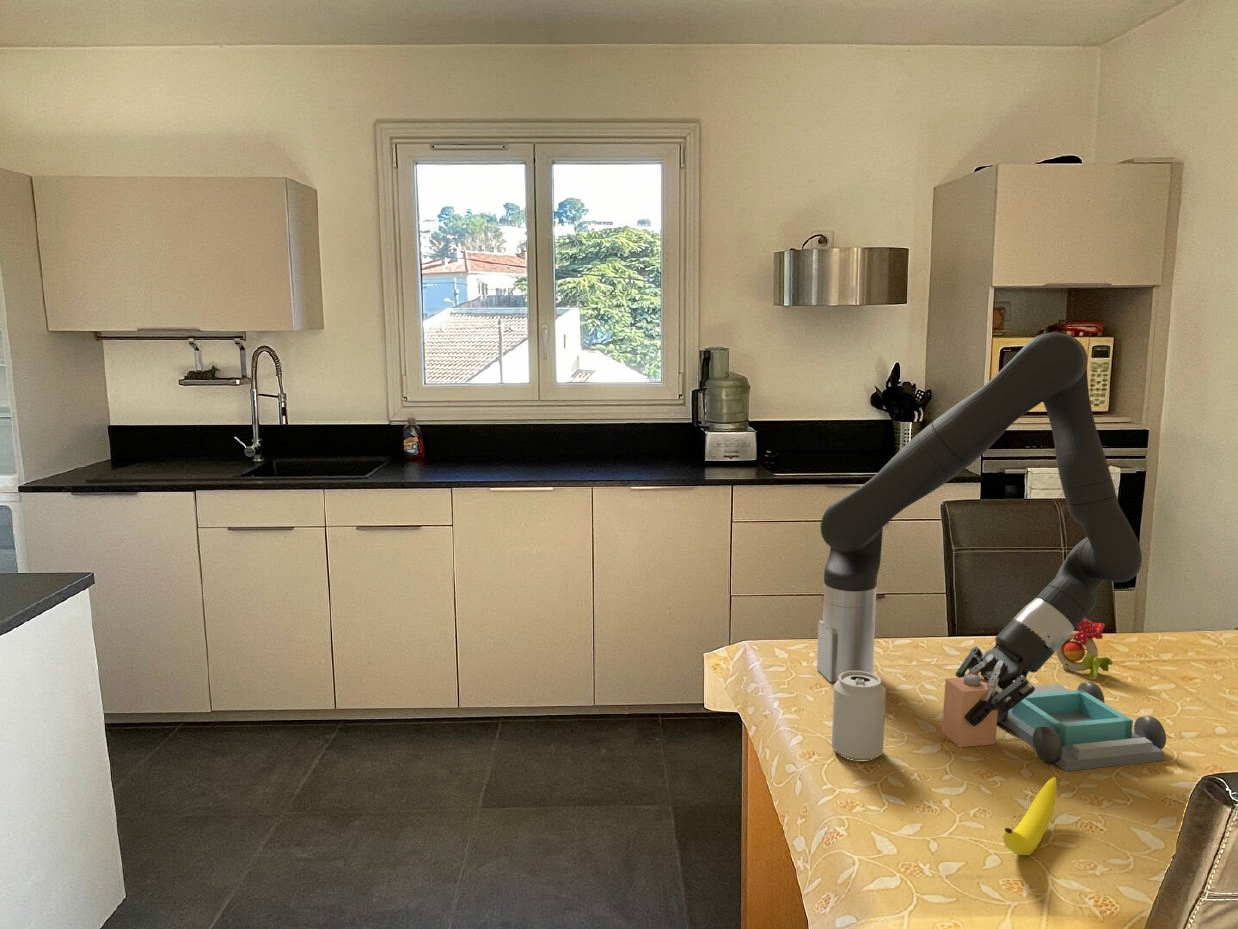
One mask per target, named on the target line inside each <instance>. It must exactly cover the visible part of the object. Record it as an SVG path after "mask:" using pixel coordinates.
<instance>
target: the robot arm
mask: <svg viewBox="0 0 1238 929" xmlns="http://www.w3.org/2000/svg"><path fill="white" fill-rule="evenodd" d="M1088 378H1089V377H1088V355H1087V351H1086V349H1085V347H1084V345H1083V344H1082V343H1081V342H1080V341H1079V340H1078V339H1077V338H1075V337H1074V336H1072V335H1069V334H1067V333H1063V332H1056V331H1054V332H1052V331H1051V332H1045V333H1041V334H1039V335H1036V336H1035V337H1033V338H1032V339H1030V340H1028V342H1027V343H1026V344H1025V345H1024V346H1023V347H1022V348H1021V349H1020V350H1019V351H1018V352H1017V353H1016V354H1015V355H1014V357H1012V358H1011V360H1009V361H1008V363H1006V365H1005V366H1004V367H1002V369H1001V370H999V371H998V372H997V373H996V374H995V375H994V376H993V377H992V378H991V379H990V380H989V381H988V382H986V383H985V384H984V385H982V387H980V388H979V389H978V390H975V391H974V392H973V393H972V394H970V395H968V396H967V397H965V398H963V399H962V400H961V401H959V402H958V403H956V404H955V405H953V406H952V407H950V408H949V409H948V410H946V411H945V412H944V413H943V414H941V415H939V417H937V418H936V419H934V420H933V421H932V422H931V423H929V424H928V425H927V426H926V427H924V428H923V429H922V430H921V431H919V433H917V434H916V435H915V436H914V437H913V438H911V440H910V441H908V442H907V443H906V444H905V445H904V446H903V447H902V448H900V450H898V451H897V453H895V455H894V456H893V457H892V458H890V460H889V461H888V462H887V463H886V464H885V465H884V466H883V467H882V468H881V469H880V470H879V471H878V472H877V473H876V474H875V475H873V476H872V477H871V478H870V479H869V480H867V481H866V482H865V483H863V484H862V485H861V486H859V487H858V488H857V489H855V490H853V491H852V492H850V493H849V494H847V495H845V496H843V497H841V498H839V499H838V500H836V501H835V502H833V503H832V504H829V506H828V507H827V509H825V512H823V515H822V517H821V522H820V534H821V537H822V539H823V541H824V542H825V543H826V545H827V546H829V547H830V549H829V555H828V557H827V558H828V559H827V561H826V564H825V568H824V571H823V572H824V573H823V599H822V600H823V606H822V620H819V621H818V622H817V623H818V624H817V654H816V655H817V656H816V658H817V660H816V670H817V671H818V672H819V673H820V674H821V675H822V676H823V677H824V678H825V679H826V680H827V681H828V682H830V683H836V682H837V681H838V680H839V678H838V676H839V675H840V674H841V673H843V672H847V671H864V672H869V673H872V674H874V673H873V672H874V656H875V655H874V653H875V652H874V651H875V629H876V628H875V627H876V626H875V625H876V609H877V608H876V606H877V604H876V603H877V583H878V581H877V580H878V574H879V571H880V567H881V566H880V565H881V562H882V561H881V558H882V547H883V546H882V543H883V528H884V527H885V525H886V524H888V523H889V522H890V521H892V519H893V518H894V517H896V516H897V515H898V514H899V513H901V512H902V511H903V510H904V509H906V508H907V507H909V506H910V505H912V504H914V503H916V502H918V501H920V500H921V499H923V498H924V497H926V496H927V495H929V494H931V493H932V492H934V491H936V490H938V489H939V488H941V486H943V485H944V484H946V483H948V482H949V481H950V480H952V479H953V478H955V477H956V476H957V475H959V474H960V473H961V472H962V471H963V472H964V470H965V469H966V468H968V467H969V466H970V465H971V464H973V463H974V462H975V461H977V460H978V459H979V458H980V457H981V456H982V455H984V453H985V452H987V451H988V450H989V449H990V448H991V446H993V444H994V443H996V441H997V440H998V439H999V438H1001V436H1002V435H1003V434H1004V433H1005V431H1007V429H1008V428H1009V427H1010V426H1012V424H1014V423H1015V422H1016V421H1017V420H1018V419H1020V418H1021V417H1023V416H1024V415H1025V414H1026V413H1028V412H1029V411H1031V410H1032V409H1034V408H1035V407H1037V406H1039V405H1040V404H1041V403H1043V405H1044V408H1045V411H1046V413H1047V414H1046V415H1047V417H1048V419H1049V420H1048V421H1049V424H1050V427H1051V432H1052V438H1053V443H1054V452H1055V459H1056V464H1057V471H1058V475H1059V480H1060V484H1061V488H1062V492H1063V495H1064V499H1065V502H1066V504H1067V509H1068V512H1069V514H1070V516H1071V518H1072V520H1074V521H1075V522H1076V523H1077V524H1079V525H1080V526H1082V528H1083V530H1084V533H1085V535H1086V537H1085V538H1083V539H1081V540H1080V541H1079V542H1078V543H1076V545H1075V546H1074V547H1073V548H1072V549H1071V551H1069V553H1068V554H1067V556H1066V558H1065V559H1064V561H1063V562H1062V564H1061V566H1060V567H1059V569H1058V571H1057V572H1056V575H1055V577H1054V578H1053V579H1052V580H1051V581H1050V582H1049V583H1048V584H1047V585H1046V586H1045V587H1044V588H1043V589H1042V590H1041V591H1040V593H1038V595H1037V596H1035V598H1034V599H1033V600H1031V601H1030V602H1029V603H1028V604H1026V605H1025V606H1024V607H1023V608H1022V609H1021V610H1020V611H1018V613H1017V614H1016V615H1014V617H1013V618H1012V619H1011V620H1010V622H1009V623H1007V624H1006V625H1005V627H1004V628H1003V629H1001V631H1000V632H999V633H998V634H997V635H996V636H995V638H994V641H995V645H994V647H993V648H991V649H988V651H983V650H981V649H980V647H978V646H974V647H972V649H971V650H970V652H969V653H968V655H967V656H966V657H965V659H964V661H963V662H962V663H961V664H960V667H959V668H958V669H957V671H956V672H955V676H956V678H959V677H964V675H966V672H967V671H968V673H967V674H972V675H977V676H979V677H980V676H982V677H983V678H984V679H986V680H987V681H988V683H987V689H989V690H988V691H987V692H986V693H985V694H984V696H983V698H982V699H983V701H982V700H979V701H978V702H977V703H976V704H975V705H974V706H973V707H972V708H971V709H970V710H969V712H968V713H967V714H966V715H965V719H966V720H967V721H968V722H969V723H970V724H971V725H972V726H976V725H978V724H979V723H981V722H982V721H983V720H984V718H985V717H986V716H987V715H988V714H989V713H990V712H991V711H992V710H994V711H995V710H1001V711H1002V712H1003V713H1005V712H1007V711H1009V710H1010V709H1011V708H1013V707H1014V706H1015V705H1017V704H1018V703H1019V702H1021V701H1022V700H1023V699H1025V698H1026V697H1027V696H1029V695H1030V694H1031V693H1033V692H1034V690H1035V688H1034V686H1035V685H1032V683H1031V682H1030V680H1029V679H1027V676H1028V674H1029V673H1037V672H1038V671H1039V670H1040V669H1041V668H1042V666H1043V665H1044V664H1046V662H1048V660H1049V659H1050V658H1051V657H1052V656H1053V655H1054V654H1056V651H1057V650H1058V649H1059V648H1060V646H1061V645H1062V644H1063V643H1064V642H1065V641H1066V640H1067V638H1068V637H1069V635H1070V634H1071V633H1072V631H1075V629H1077V628H1078V627H1077V626H1078V625H1079V624H1080V623H1081V622H1082V621H1083V620H1084V619H1086V617H1088V615H1089V614H1090V613H1091V612H1092V611H1093V609H1094V608H1095V606H1096V603H1097V600H1096V596H1095V595H1094V594H1095V593H1096V591H1098V589H1099V587H1100V586H1101V585H1102V584H1103V582H1104V581H1105V582H1106V581H1107V582H1111V583H1127V582H1128V581H1131V580H1133V579H1134V578H1135V577H1137V575H1138V574H1139V572H1140V570H1141V567H1142V562H1143V558H1142V556H1143V555H1142V549H1141V546H1140V543H1139V540H1138V538H1137V536H1136V534H1135V532H1134V530H1133V528H1132V526H1131V524H1130V522H1129V520H1128V518H1127V516H1126V515H1125V513H1124V512H1123V510H1122V508H1121V506H1120V504H1119V500H1118V496H1117V491H1116V488H1115V485H1114V481H1113V477H1112V474H1111V471H1110V467H1109V464H1108V462H1107V458H1106V454H1105V451H1104V449H1103V448H1104V447H1103V446H1102V441H1101V439H1100V436H1099V433H1098V430H1097V425H1096V422H1095V418H1094V414H1093V410H1092V409H1093V408H1092V404H1091V398H1090V393H1089V392H1090V390H1089V380H1088ZM994 693H996V694H997V695H996V696H995V697H993V695H994ZM1007 697H1011V699H1009V700H1008V701H1007V702H1005V703H1004V702H1003V700H1005V699H1006V698H1007Z"/></svg>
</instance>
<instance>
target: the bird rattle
mask: <svg viewBox="0 0 1238 929" xmlns="http://www.w3.org/2000/svg"><path fill="white" fill-rule="evenodd" d="M1076 628H1077V629H1078V630H1073V631H1072V633H1071V634H1070V635H1069V637H1068V638H1067V640H1066V641H1065V642H1064V643H1063V644H1062V645H1061V646H1060V648H1059V649H1058V650H1057V651H1056V652H1055V654H1056V656H1057V658H1058V660H1059V661H1060V663H1061V664H1062V669H1063V670H1064V671H1075V672H1080V671H1081V672H1082V671H1086V670H1090V671H1089V679H1090V680H1091V681H1094V680H1095V679H1096V678H1097V677H1098V675H1099V668H1100V669H1101V670H1102V671H1103V672H1109V671H1110V667H1109V665H1110V666H1111V665H1113V659H1111V658H1109V657H1107V656H1103V657H1098V656H1099V651H1098V647H1097V645H1096V643H1095V641H1094V638H1095V639H1096V640H1101V639H1103V637H1104V636H1103V633H1102V632H1103V630H1104V629H1105V623H1102V622H1092V621H1091V620H1089V619H1088V618H1085V619H1084V620H1083V621H1082V622H1081V623H1080V624H1079V625H1078V626H1077V627H1076ZM1081 660H1082V661H1081Z"/></svg>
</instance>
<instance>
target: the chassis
mask: <svg viewBox="0 0 1238 929" xmlns="http://www.w3.org/2000/svg"><path fill="white" fill-rule="evenodd" d="M1033 686H1034V688H1035V690H1034V692H1033V693H1031V694H1030V695H1029V696H1027V697H1026V698H1025V699H1023V700H1022V701H1021V702H1019V703H1018V704H1017V705H1015V706H1014V707H1013V708H1011V709H1010V710H1009V711H1007V712H1005V713H1003V712H1002V711H1001V710H998V713H997V723H998V724H999V723H1000V724H1002V725H1003V726H1005V728H1007V729H1008V730H1010V731H1011V732H1013V734H1015V735H1016V736H1018V737H1019V738H1021V739H1022V740H1023V741H1024V742H1026V743H1027V744H1028V745H1030V746H1031V747H1032V748H1034V750H1035V753H1036V754H1037V756H1038V757H1039V759H1041V760H1042V761H1043V762H1046V763H1054V764H1055V765H1056V766H1058V767H1059V768H1060V769H1062V770H1063V771H1064V772H1068V771H1078V770H1080V771H1081V770H1088V769H1097V768H1106V767H1107V768H1108V767H1115V766H1116V767H1117V766H1124V765H1133V764H1134V765H1136V764H1143V763H1152V762H1162V761H1163V760H1164V750H1163V749H1164V748H1165V746H1166V742H1167V734H1166V730H1165V728H1164V726H1163V724H1162V723H1161V722H1160V721H1159V720H1158V719H1157V718H1156V717H1154V716H1152V715H1151V716H1150V715H1149V716H1148V715H1146V716H1140V717H1138V718H1136V720H1135V722H1134V720H1133V719H1131V718H1130V717H1129V716H1126V715H1125V714H1123V713H1122V712H1120V711H1118V710H1117V709H1115V708H1113V707H1112V706H1110V705H1108V704H1107V703H1105V696H1104V694H1103V691H1102V689H1101V687H1100V686H1099V684H1098V685H1097V683H1095V682H1093V681H1092V682H1091V681H1090V682H1081V683H1080V684H1079V685H1078V688H1077V689H1075V690H1074V689H1073V690H1070V689H1068V688H1066V687H1065V686H1063V685H1062V684H1061V683H1053V684H1052V683H1051V684H1042V685H1033ZM1009 699H1011V697H1007V698H1006V699H1005V700H1003V702H1004V703H1005V702H1007V701H1008V700H1009ZM1133 724H1134V725H1133Z"/></svg>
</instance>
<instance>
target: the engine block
mask: <svg viewBox="0 0 1238 929" xmlns="http://www.w3.org/2000/svg"><path fill="white" fill-rule="evenodd" d="M987 683H988V681H987V680H986V679H984V678H983V677H982V676H981V675H980V677H979V676H977V675H972V674H968V673H967V674H965V675H964V677H959V678H958V677H951V678H949V677H947V678H945V681H944V697H943V715H942V716H943V717H942V732H941V733H942V734H943V735H945V737H947V738H948V739H950V740H951V742H953V743H954V744H955V745H956V746H957V747H958V748H967V747H977V746H979V747H980V746H986V745H996V741H997V726H998V725H997V713H998V710H995V711H994V710H992V711H991V712H990V713H989V714H988V715H987V716H986V717H985V718H984V720H983V721H982V722H981V723H979V724H978V725H976V726H972V725H971V724H970V723H969V722H968V721H967V720H966V719H965V715H966V714H967V713H968V712H969V710H970V709H971V708H972V707H973V706H974V705H975V704H976V703H977V702H978V701H979V700H982V701H983V699H982V698H983V696H984V694H985V693H986V692H987V691H988V690H989V689H987ZM996 695H997V694H996V693H994V695H993V697H995V696H996Z"/></svg>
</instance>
